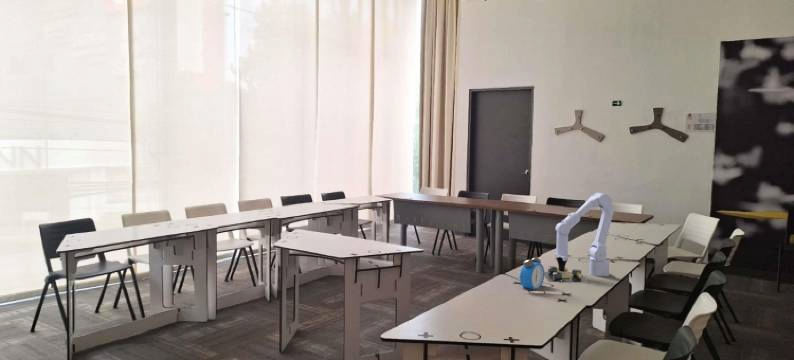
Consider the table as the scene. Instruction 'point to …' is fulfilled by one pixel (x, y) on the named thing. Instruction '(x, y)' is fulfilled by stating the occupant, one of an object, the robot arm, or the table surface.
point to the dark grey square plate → (573, 279)
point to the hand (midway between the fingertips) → (561, 271)
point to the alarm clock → (532, 273)
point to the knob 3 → (576, 273)
